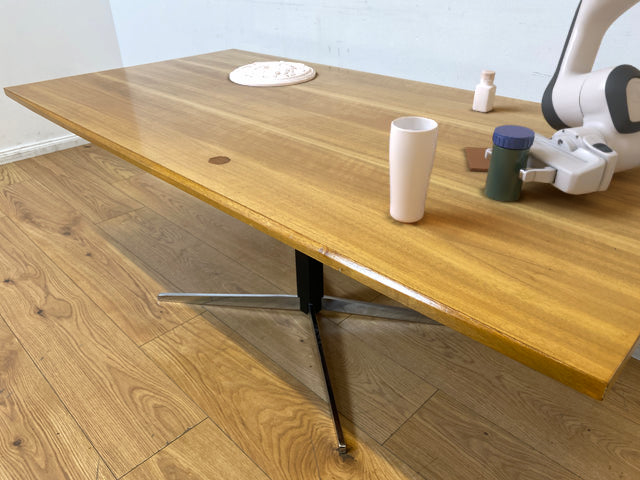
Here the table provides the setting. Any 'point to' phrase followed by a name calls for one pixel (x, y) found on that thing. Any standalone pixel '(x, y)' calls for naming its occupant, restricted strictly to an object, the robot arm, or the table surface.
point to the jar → (505, 173)
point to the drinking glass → (411, 166)
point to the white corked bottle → (485, 92)
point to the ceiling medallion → (272, 74)
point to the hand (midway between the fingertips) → (503, 165)
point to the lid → (513, 137)
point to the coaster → (477, 159)
